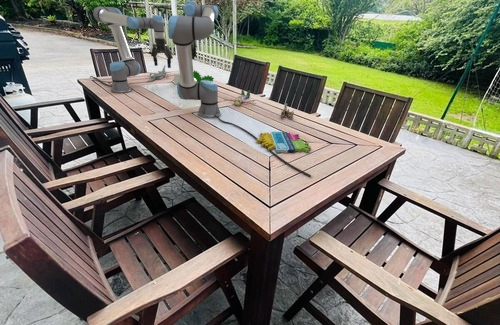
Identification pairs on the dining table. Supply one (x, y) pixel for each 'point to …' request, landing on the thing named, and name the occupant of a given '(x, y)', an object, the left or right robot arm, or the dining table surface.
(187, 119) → the dining table surface
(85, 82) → the dining table surface
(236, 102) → the toy
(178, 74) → the block
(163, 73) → the airplane
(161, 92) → the dining table surface
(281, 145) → the sign
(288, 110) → the jawbone
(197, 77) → the ornament
